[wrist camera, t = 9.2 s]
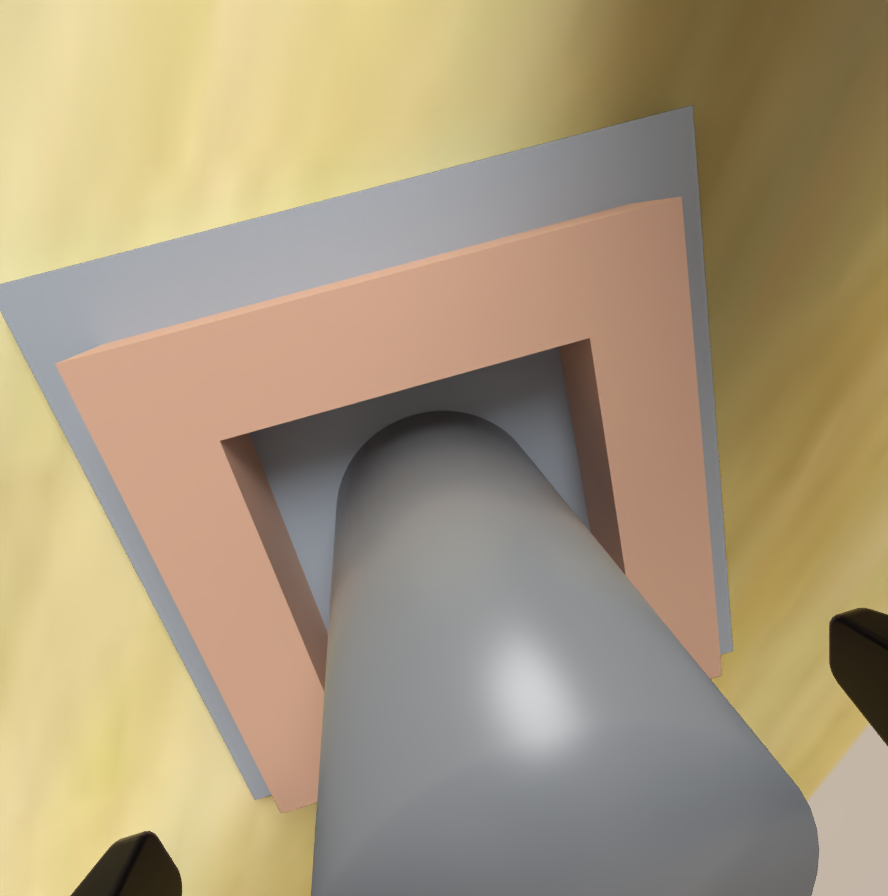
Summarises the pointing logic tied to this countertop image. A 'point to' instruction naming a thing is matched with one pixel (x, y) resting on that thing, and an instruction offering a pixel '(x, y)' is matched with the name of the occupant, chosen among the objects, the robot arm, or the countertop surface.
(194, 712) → the countertop surface
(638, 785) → the grey rounded tapered cylinder
